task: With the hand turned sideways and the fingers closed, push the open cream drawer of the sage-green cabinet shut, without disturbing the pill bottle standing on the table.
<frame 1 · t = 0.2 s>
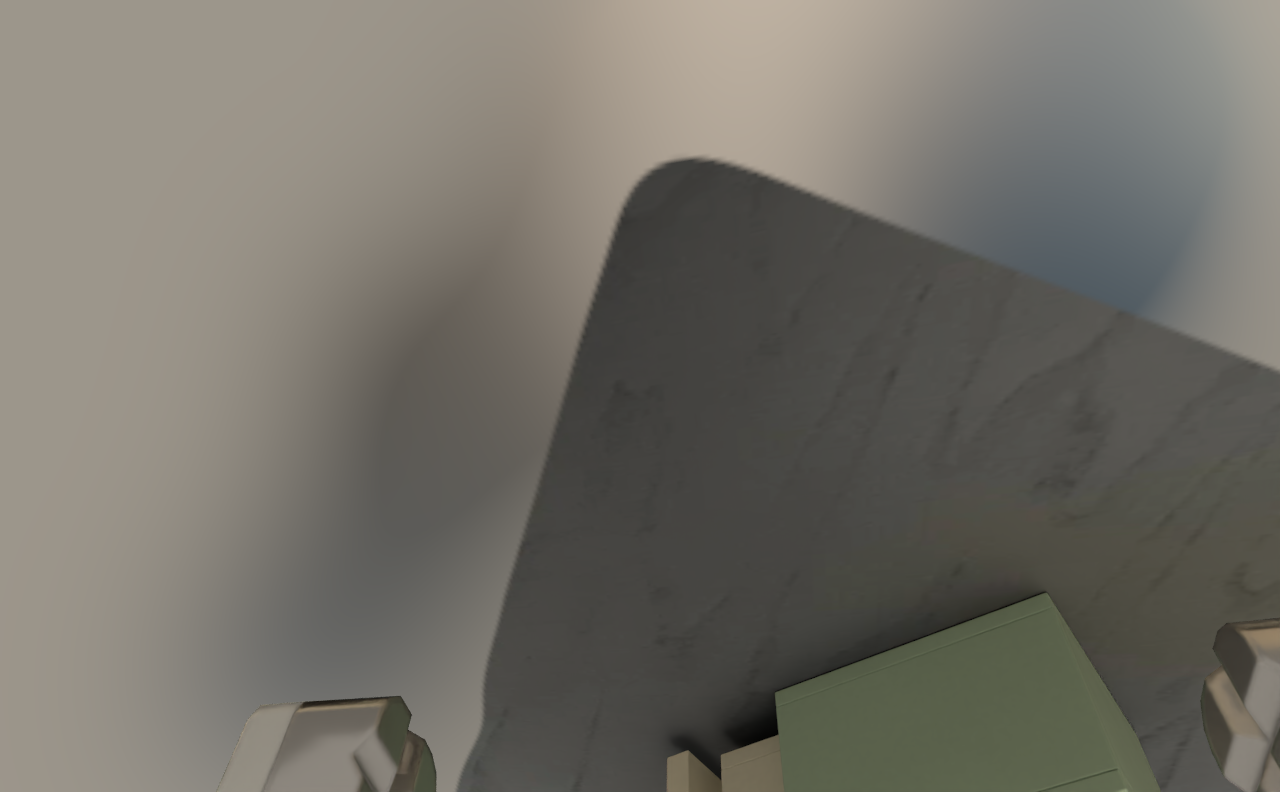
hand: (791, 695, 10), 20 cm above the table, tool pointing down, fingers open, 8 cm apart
cabinet: (957, 713, 43), on the table
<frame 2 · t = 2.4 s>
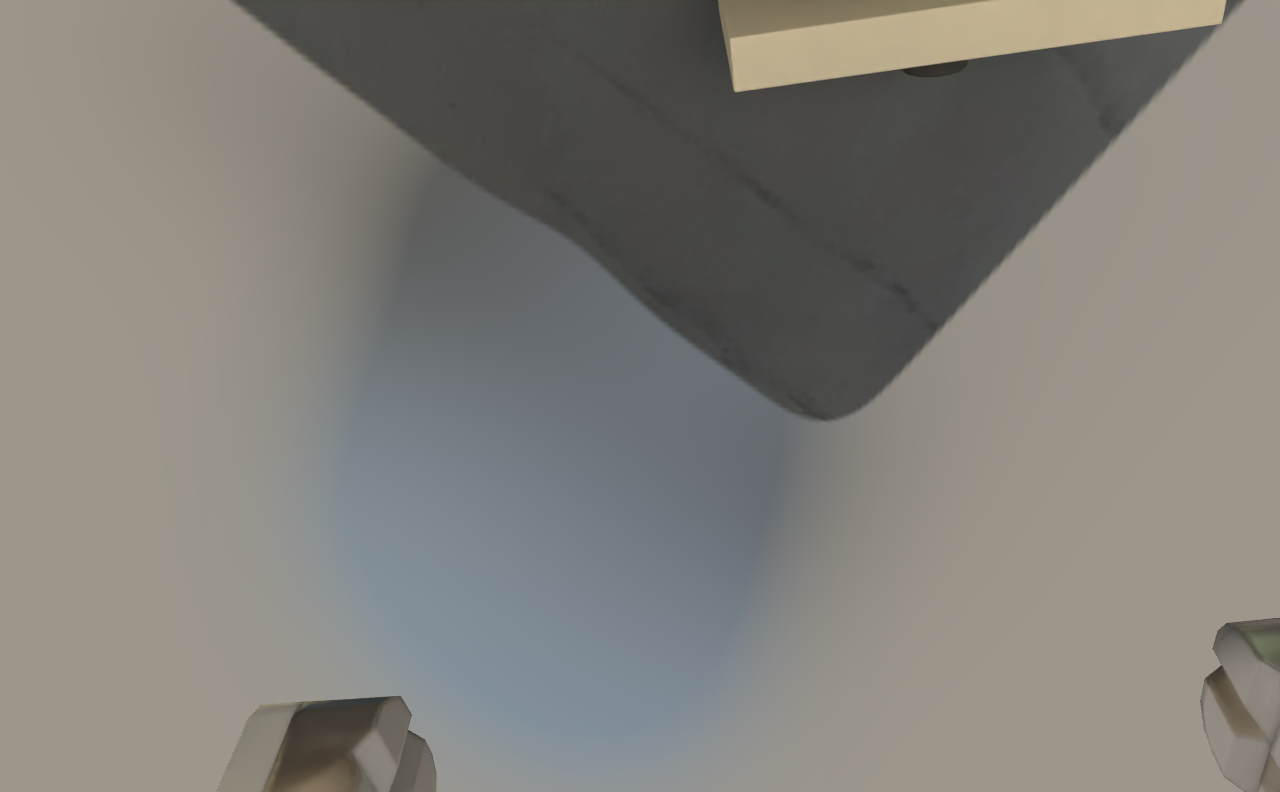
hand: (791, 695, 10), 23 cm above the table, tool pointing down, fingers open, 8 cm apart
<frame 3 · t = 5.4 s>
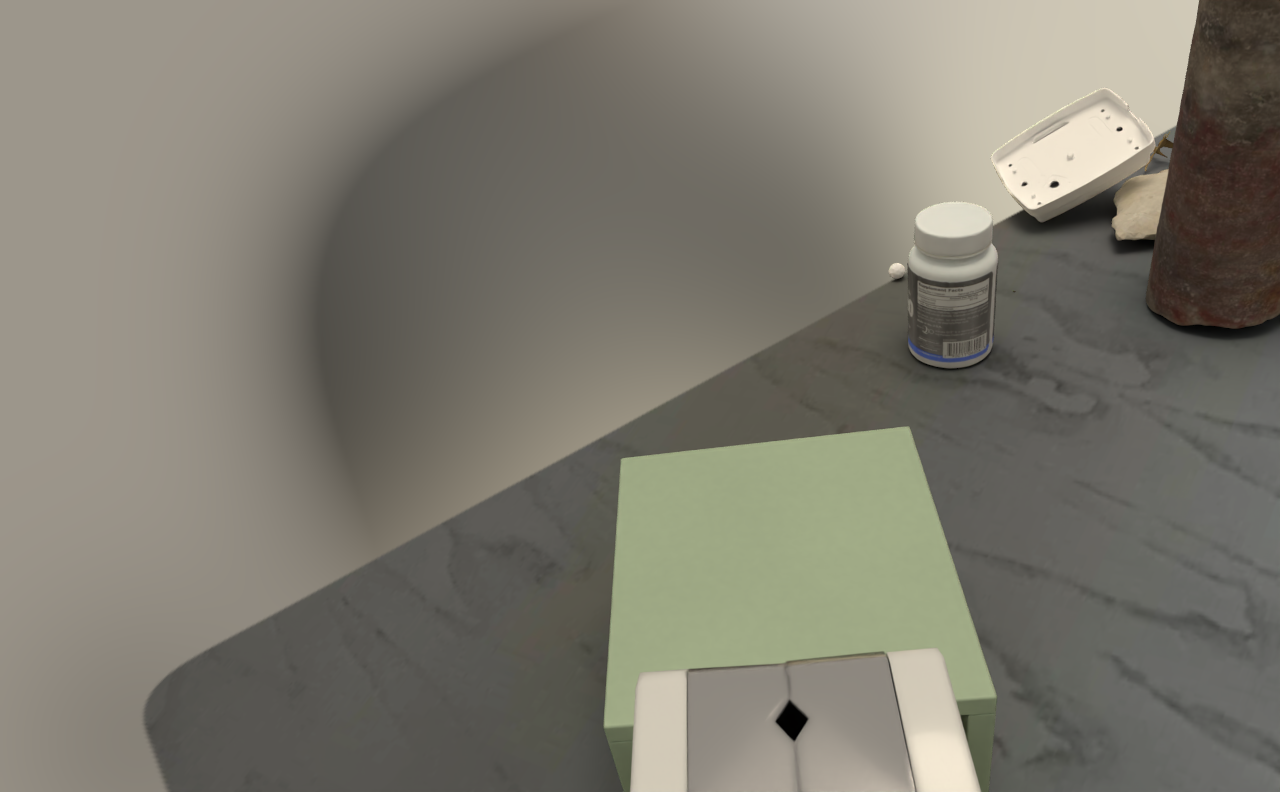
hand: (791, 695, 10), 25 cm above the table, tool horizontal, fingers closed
pill bottle: (949, 350, 55), on the table
decorative stone: (1172, 225, 63), on the table, touching white plastic casing
rusty brown cylinder: (1216, 305, 55), on the table
cabinet: (793, 705, 38), on the table
white plastic casing: (1067, 146, 63), point 5 cm above the table, touching decorative stone, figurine
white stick: (953, 271, 61), point 1 cm above the table
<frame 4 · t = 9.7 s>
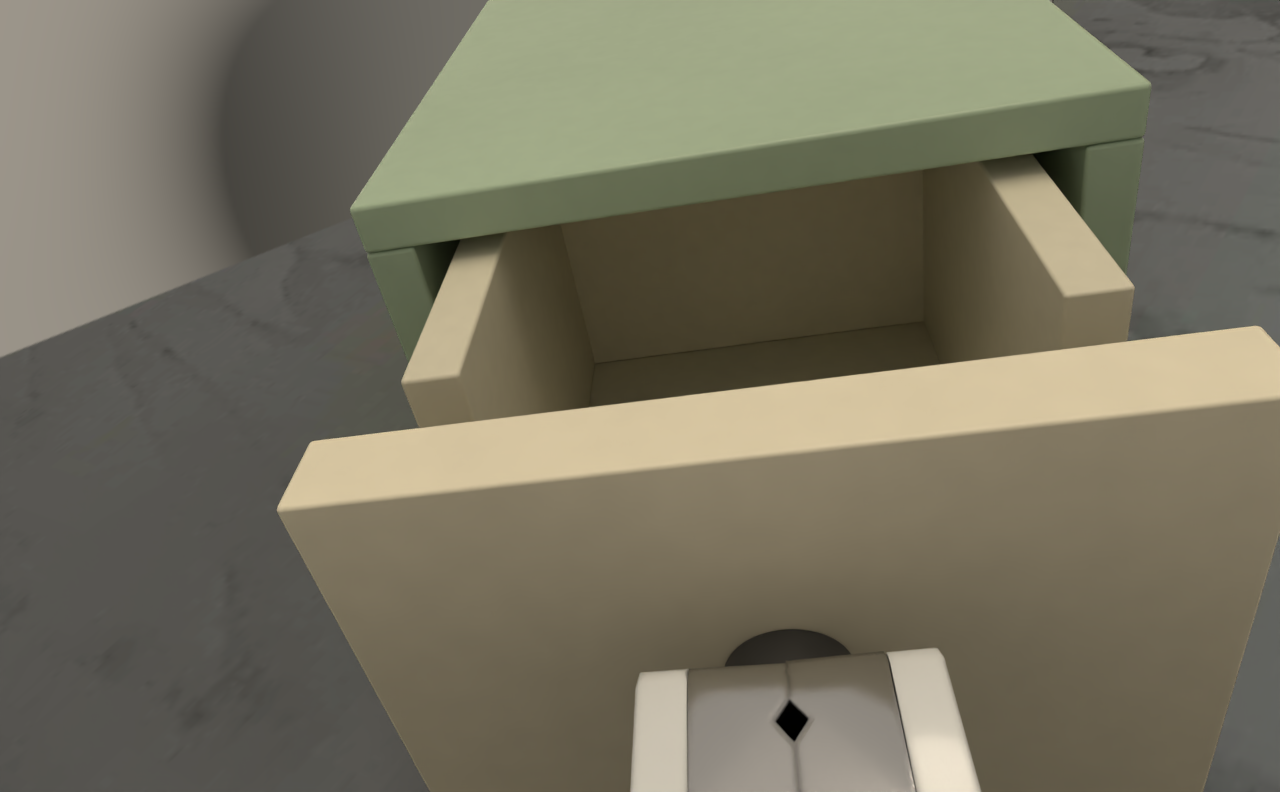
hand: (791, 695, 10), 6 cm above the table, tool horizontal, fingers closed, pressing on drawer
drawer: (761, 412, 16), point 4 cm above the table, slide at 4.6 cm, touching gripper
cabinet: (760, 380, 24), on the table
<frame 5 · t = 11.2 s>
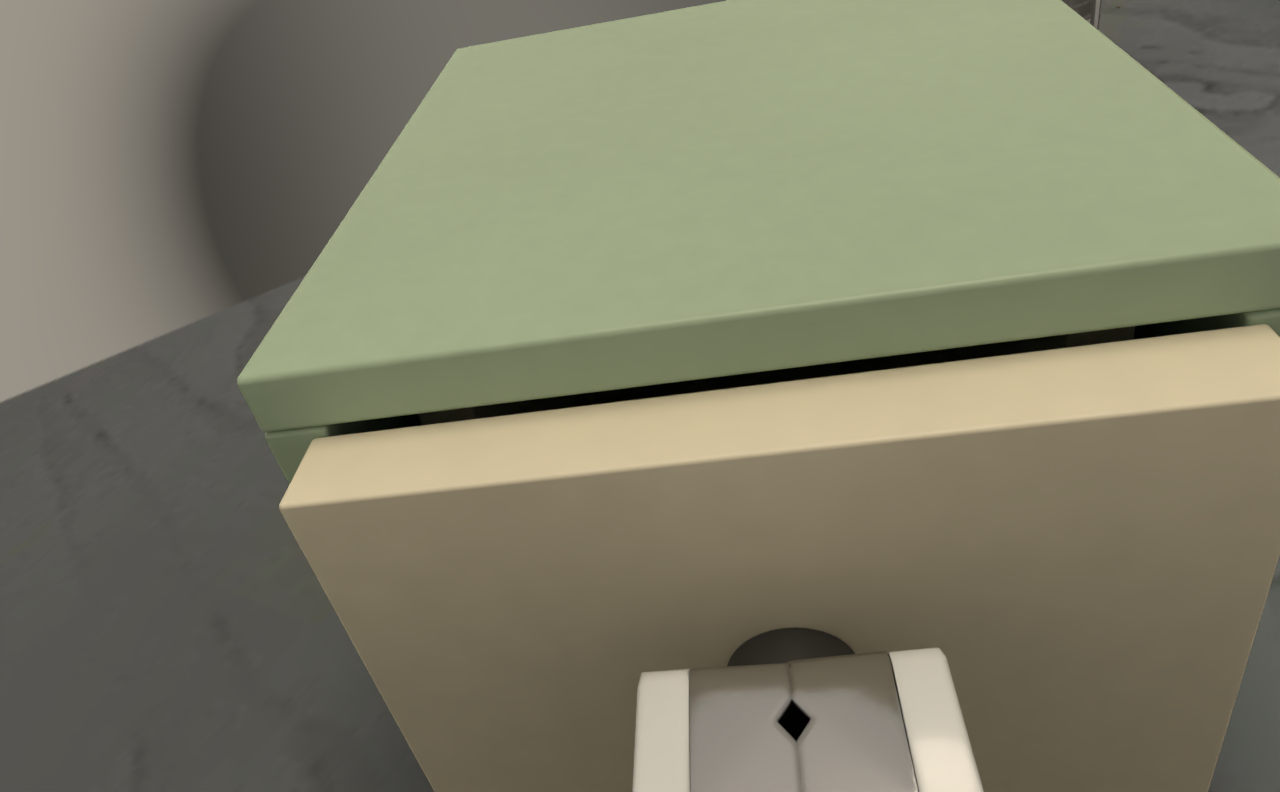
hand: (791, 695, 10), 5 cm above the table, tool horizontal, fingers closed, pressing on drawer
pill bottle: (1028, 70, 37), on the table
drawer: (765, 409, 15), point 4 cm above the table, slide at 0.0 cm, touching cabinet, gripper
cabinet: (778, 503, 20), on the table
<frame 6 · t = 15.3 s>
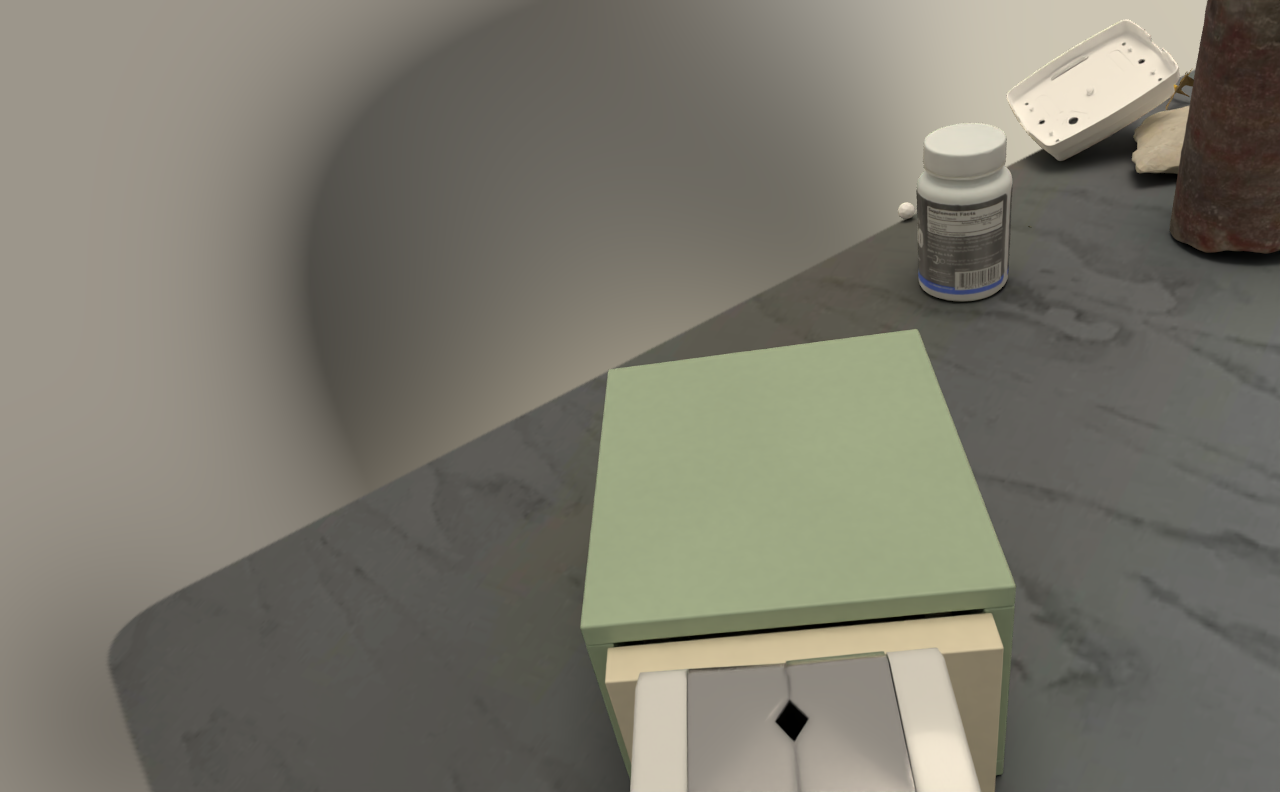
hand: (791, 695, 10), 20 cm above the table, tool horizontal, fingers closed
pill bottle: (962, 284, 53), on the table
drawer: (791, 603, 31), point 4 cm above the table, slide at 0.0 cm, touching cabinet
decorative stone: (1196, 161, 60), on the table, touching white plastic casing
rusty brown cylinder: (1245, 234, 52), on the table
cabinet: (795, 632, 35), on the table
white plastic casing: (1087, 79, 61), point 5 cm above the table, touching decorative stone, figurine
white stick: (965, 208, 58), point 1 cm above the table
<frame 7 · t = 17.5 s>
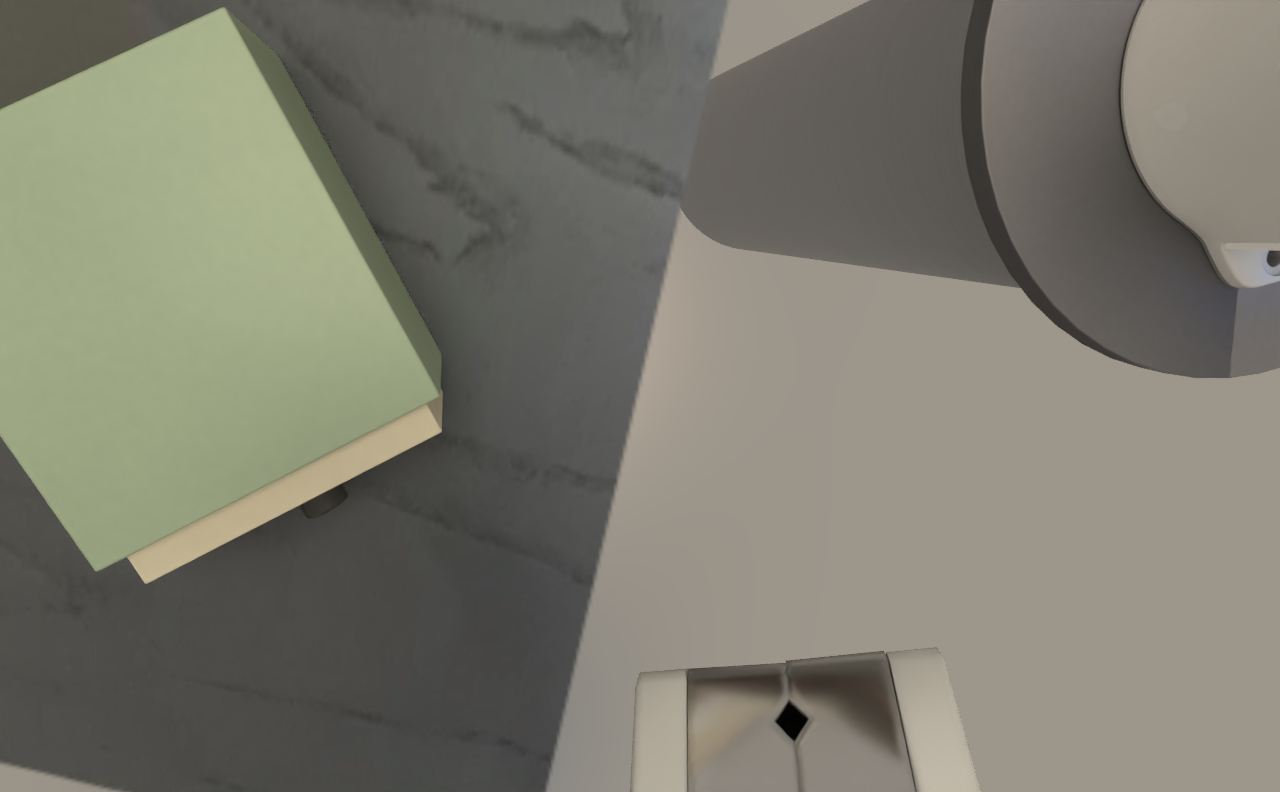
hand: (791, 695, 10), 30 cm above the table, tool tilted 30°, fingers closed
drawer: (232, 350, 32), point 4 cm above the table, slide at 0.0 cm, touching cabinet
cabinet: (224, 279, 36), on the table
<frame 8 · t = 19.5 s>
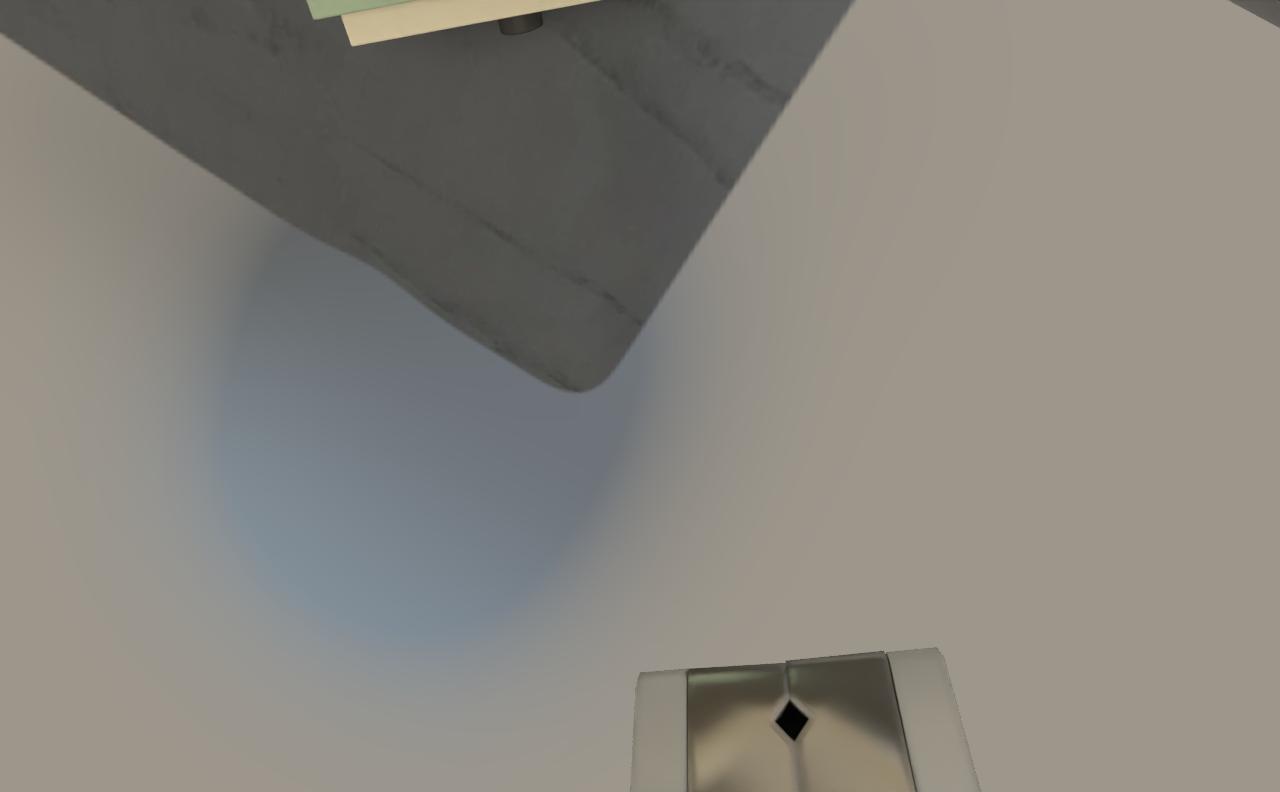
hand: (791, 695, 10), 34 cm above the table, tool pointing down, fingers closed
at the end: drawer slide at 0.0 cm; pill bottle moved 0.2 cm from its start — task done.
